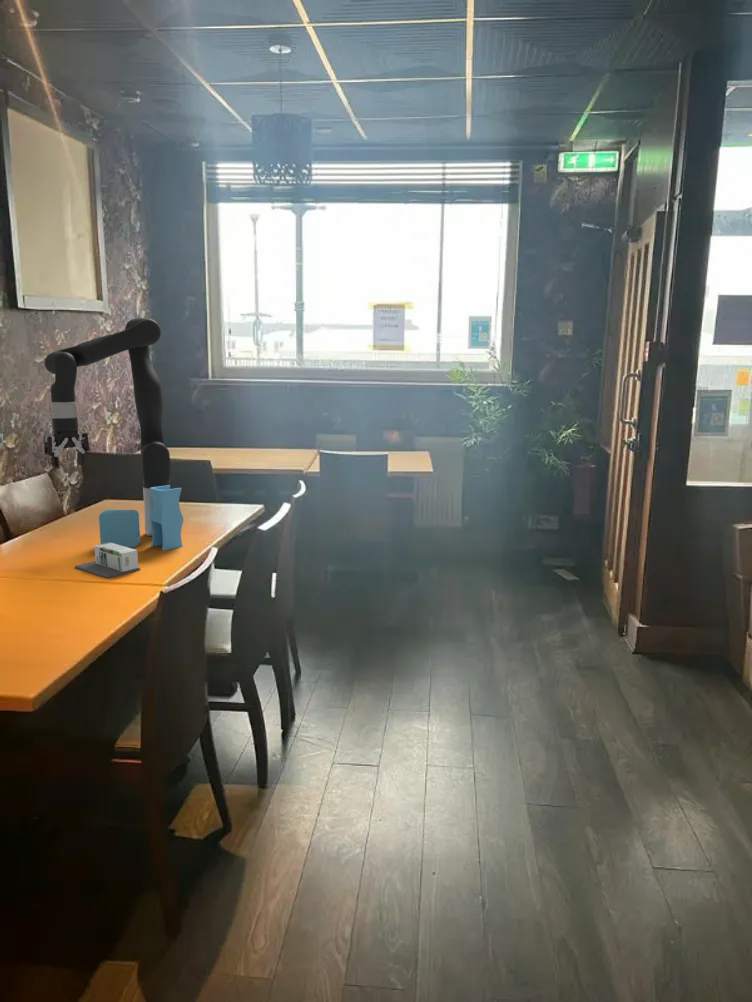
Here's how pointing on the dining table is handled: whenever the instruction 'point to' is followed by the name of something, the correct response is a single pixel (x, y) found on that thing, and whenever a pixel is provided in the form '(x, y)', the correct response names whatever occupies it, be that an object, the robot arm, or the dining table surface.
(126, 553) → the syrup box
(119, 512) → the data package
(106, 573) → the mat
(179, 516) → the blue wavy stand
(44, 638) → the dining table surface
